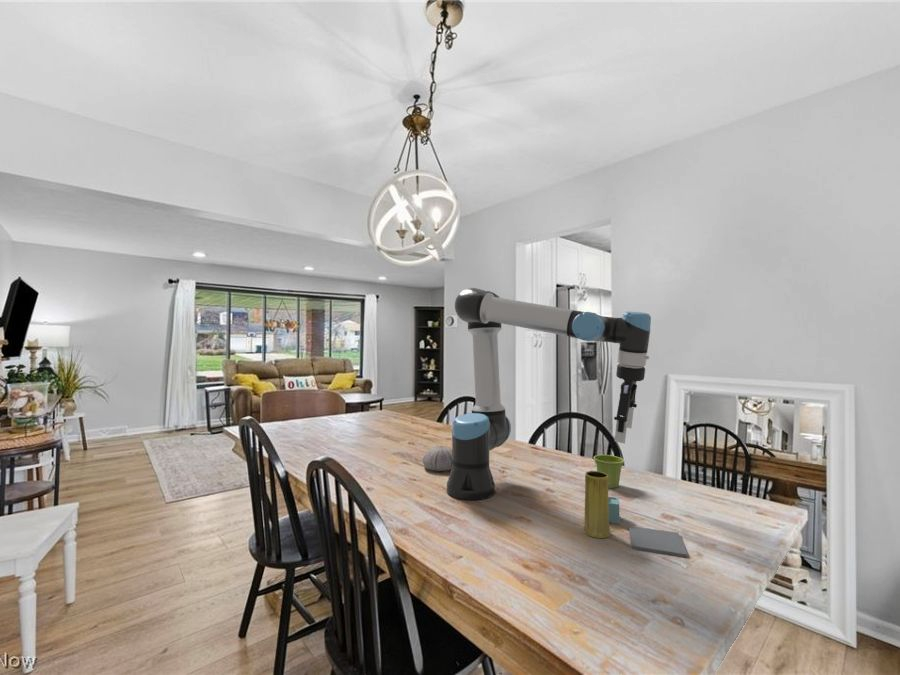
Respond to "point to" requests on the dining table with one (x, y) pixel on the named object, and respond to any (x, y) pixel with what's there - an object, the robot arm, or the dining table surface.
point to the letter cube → (613, 510)
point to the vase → (596, 505)
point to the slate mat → (657, 541)
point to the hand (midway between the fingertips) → (623, 434)
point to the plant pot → (610, 468)
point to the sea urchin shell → (438, 459)
